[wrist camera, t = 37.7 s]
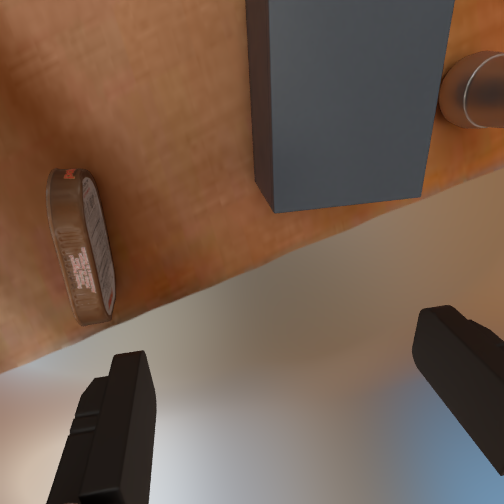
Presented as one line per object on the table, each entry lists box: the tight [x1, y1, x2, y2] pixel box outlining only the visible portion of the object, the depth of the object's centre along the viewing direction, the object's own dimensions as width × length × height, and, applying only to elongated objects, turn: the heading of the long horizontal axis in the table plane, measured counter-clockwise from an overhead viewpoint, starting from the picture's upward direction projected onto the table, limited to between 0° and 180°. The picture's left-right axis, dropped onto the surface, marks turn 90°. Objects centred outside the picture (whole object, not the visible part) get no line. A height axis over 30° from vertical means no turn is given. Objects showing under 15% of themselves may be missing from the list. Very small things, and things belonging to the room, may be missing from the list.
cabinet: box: [245, 0, 455, 213], centre depth 30 cm, size 16×13×9 cm
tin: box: [46, 168, 116, 326], centre depth 33 cm, size 15×3×8 cm, turn 0°
